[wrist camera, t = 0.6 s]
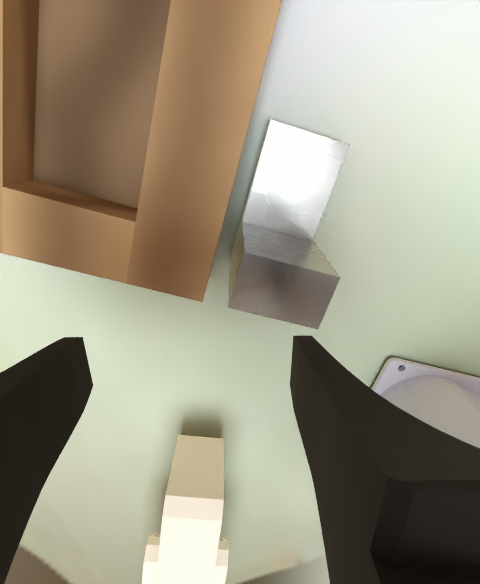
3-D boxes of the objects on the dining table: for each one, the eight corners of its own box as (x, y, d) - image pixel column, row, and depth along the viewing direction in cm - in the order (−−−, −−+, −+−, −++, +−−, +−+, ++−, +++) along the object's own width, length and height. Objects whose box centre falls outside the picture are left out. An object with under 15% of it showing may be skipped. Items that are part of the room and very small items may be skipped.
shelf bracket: (153, 604, 36) (116, 805, 24) (175, 386, 31) (142, 501, 19) (205, 607, 37) (195, 806, 24) (236, 392, 31) (244, 509, 19)
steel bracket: (342, 144, 18) (395, 148, 12) (294, 274, 21) (317, 329, 15) (268, 120, 17) (286, 113, 12) (230, 257, 20) (228, 307, 14)
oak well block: (294, -59, 15) (309, -104, 12) (206, 280, 21) (202, 301, 18) (-62, -198, 13) (-141, -288, 10) (-41, 217, 19) (-87, 231, 16)
